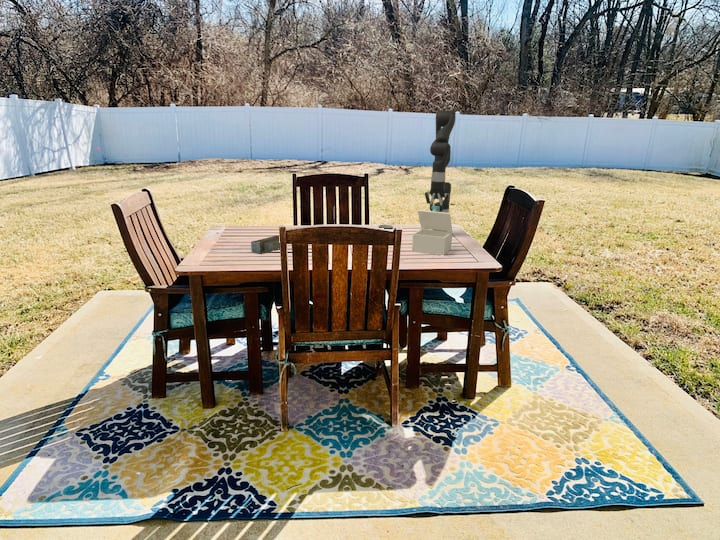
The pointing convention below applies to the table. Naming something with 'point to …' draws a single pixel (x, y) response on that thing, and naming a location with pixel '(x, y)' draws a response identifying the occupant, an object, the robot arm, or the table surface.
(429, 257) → the table surface
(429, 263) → the table surface
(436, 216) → the lid
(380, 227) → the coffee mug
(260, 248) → the beverage carton
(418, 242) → the box
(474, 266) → the table surface
